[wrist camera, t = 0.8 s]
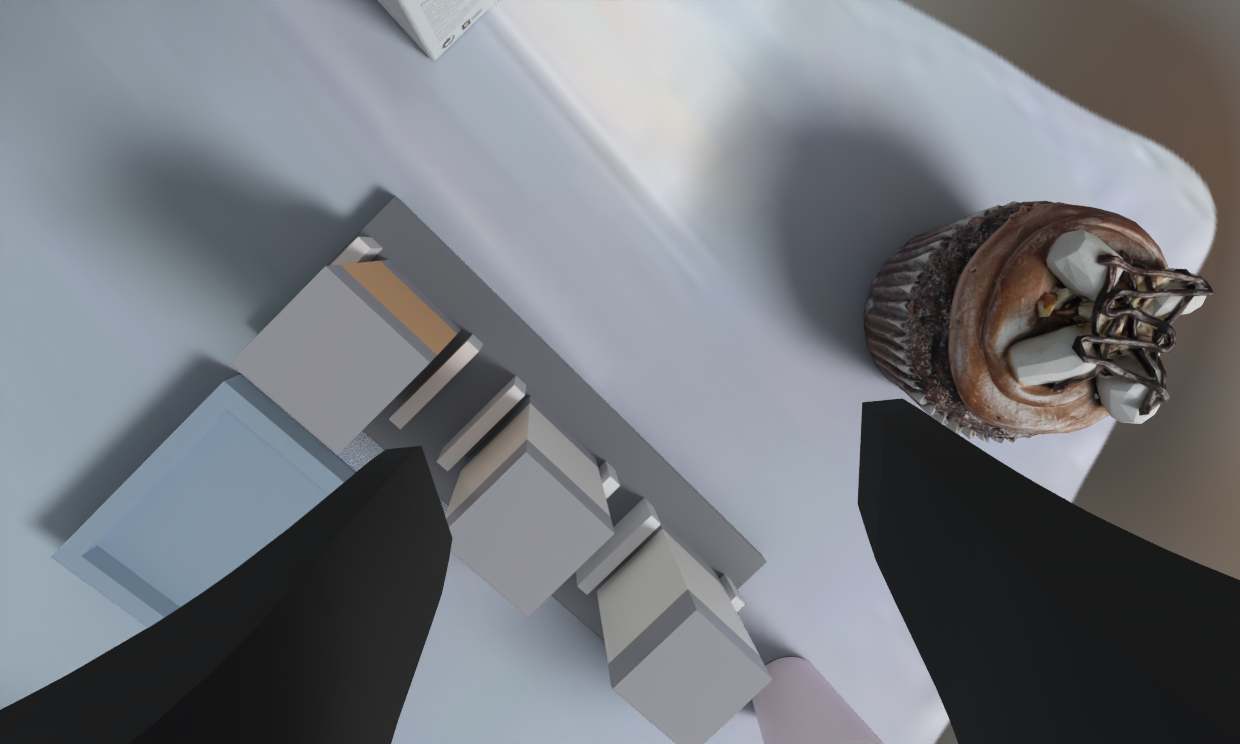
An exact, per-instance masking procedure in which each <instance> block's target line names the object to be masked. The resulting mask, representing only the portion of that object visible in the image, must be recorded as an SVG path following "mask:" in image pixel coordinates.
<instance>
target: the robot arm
mask: <svg viewBox="0 0 1240 744" xmlns="http://www.w3.org/2000/svg"><path fill="white" fill-rule="evenodd" d="M858 506H859V510H860V513H861V516H862V519H863V522H864V526H865V529H866V532H867V535H868V538H869V541H870V544H871V547H872V550H873V553H874V556H875V559H876V562H877V564H878V566H879V568H880V570H881V572H882V575H883V577H884V579H885V581H886V583H887V585H888V587H889V590H890V592H891V594H892V596H893V598H894V600H895V602H896V605H897V607H898V609H899V611H900V613H901V615H902V617H903V619H904V621H905V623H906V626H907V628H908V630H909V632H910V634H911V636H912V638H913V640H914V642H915V644H916V647H917V649H918V651H919V653H920V655H921V657H922V659H923V661H924V663H925V665H926V668H927V670H928V672H929V674H930V676H931V678H932V680H933V682H934V684H935V686H936V689H937V691H938V693H939V696H940V698H941V700H942V703H943V705H944V707H945V710H946V712H947V714H948V717H949V719H950V722H951V725H952V727H953V730H954V733H955V735H956V738H957V741H958V744H1240V580H1238V579H1235V578H1233V577H1230V576H1228V575H1225V574H1223V573H1220V572H1218V571H1216V570H1213V569H1211V568H1208V567H1206V566H1203V565H1200V564H1198V563H1196V562H1193V561H1191V560H1189V559H1187V558H1184V557H1182V556H1180V555H1177V554H1175V553H1173V552H1171V551H1168V550H1166V549H1164V548H1162V547H1159V546H1157V545H1155V544H1153V543H1151V542H1149V541H1147V540H1144V539H1143V538H1140V537H1138V536H1136V535H1134V534H1132V533H1130V532H1128V531H1126V530H1124V529H1122V528H1120V527H1117V526H1115V525H1113V524H1111V523H1109V522H1107V521H1105V520H1103V519H1101V518H1099V517H1097V516H1095V515H1093V514H1091V513H1089V512H1087V511H1085V510H1084V509H1082V508H1080V507H1078V506H1076V505H1074V504H1073V503H1071V502H1069V501H1067V500H1065V499H1064V498H1062V497H1060V496H1058V495H1056V494H1055V493H1053V492H1051V491H1049V490H1047V489H1046V488H1044V487H1042V486H1040V485H1038V484H1037V483H1035V482H1033V481H1032V480H1030V479H1028V478H1027V477H1025V476H1023V475H1021V474H1020V473H1018V472H1016V471H1015V470H1013V469H1011V468H1010V467H1008V466H1007V465H1005V464H1003V463H1002V462H1000V461H998V460H997V459H995V458H994V457H992V456H991V455H989V454H987V453H986V452H984V451H983V450H981V449H980V448H978V447H976V446H975V445H973V444H972V443H970V442H969V441H967V440H966V439H964V438H963V437H961V436H960V435H958V434H957V433H955V432H954V431H952V430H950V429H949V428H947V427H946V426H944V425H943V424H941V423H940V422H938V421H937V420H935V419H934V418H932V417H931V416H929V415H928V414H926V413H925V412H923V411H922V410H920V409H919V408H917V407H915V406H914V405H912V404H911V403H909V402H907V401H906V400H904V399H893V400H883V401H873V402H862V423H861V445H860V466H859V488H858ZM452 539H453V538H452V535H451V532H450V529H449V526H448V523H447V520H446V517H445V514H444V511H443V508H442V505H441V502H440V499H439V496H438V493H437V490H436V487H435V484H434V481H433V478H432V475H431V472H430V469H429V466H428V463H427V460H426V457H425V454H424V451H423V448H422V446H414V447H403V448H393V449H386V450H385V451H383V452H382V453H381V454H379V455H378V456H376V457H375V458H374V459H372V460H371V461H370V462H368V463H367V464H366V465H365V466H363V467H362V468H361V469H360V470H358V471H357V472H356V473H355V474H353V475H352V476H351V477H350V478H349V479H347V480H346V481H345V482H344V483H343V484H341V485H340V486H339V487H338V488H337V489H335V490H334V491H333V492H332V493H331V494H329V495H328V496H327V497H326V498H325V499H323V500H322V501H321V502H320V503H319V504H317V505H316V506H315V507H314V508H312V509H311V510H310V511H309V512H308V513H306V514H305V515H304V516H303V517H302V518H300V519H299V520H298V521H297V522H295V523H294V524H293V525H292V526H291V527H289V528H288V529H287V530H285V531H284V532H283V533H282V534H280V535H279V536H278V537H276V538H275V539H274V540H272V541H271V542H270V543H269V544H267V545H266V546H265V547H263V548H262V549H261V550H259V551H258V552H257V553H256V554H254V555H253V556H252V557H250V558H249V559H248V560H246V561H245V562H244V563H243V564H241V565H240V566H239V567H237V568H236V569H235V570H233V571H232V572H231V573H229V574H228V575H226V576H225V577H224V578H222V579H221V580H220V581H218V582H217V583H215V584H214V585H212V586H211V587H209V588H208V589H207V590H205V591H204V592H202V593H201V594H199V595H198V596H196V597H195V598H193V599H192V600H190V601H189V602H187V603H186V604H184V605H183V606H181V607H180V608H178V609H177V610H175V611H174V612H172V613H171V614H169V615H167V616H166V617H164V618H163V619H161V620H160V621H158V622H157V623H155V624H153V625H152V626H150V627H149V628H147V629H145V630H144V631H142V632H140V633H138V634H137V635H135V636H133V637H132V638H130V639H128V640H126V641H125V642H123V643H121V644H120V645H118V646H116V647H114V648H113V649H111V650H109V651H108V652H106V653H104V654H102V655H101V656H99V657H97V658H96V659H94V660H92V661H91V662H89V663H87V664H85V665H84V666H82V667H80V668H79V669H77V670H75V671H73V672H72V673H70V674H68V675H66V676H64V677H62V678H61V679H59V680H57V681H55V682H53V683H51V684H49V685H47V686H45V687H44V688H42V689H40V690H38V691H36V692H34V693H32V694H30V695H28V696H27V697H25V698H23V699H21V700H19V701H17V702H15V703H13V704H11V705H9V706H7V707H5V708H3V709H1V710H0V744H391V742H392V739H393V735H394V732H395V729H396V725H397V722H398V719H399V716H400V713H401V711H402V708H403V705H404V702H405V699H406V696H407V693H408V691H409V688H410V685H411V682H412V679H413V676H414V673H415V670H416V668H417V665H418V662H419V659H420V656H421V653H422V651H423V648H424V645H425V642H426V639H427V636H428V633H429V630H430V627H431V624H432V621H433V619H434V616H435V613H436V610H437V607H438V604H439V601H440V597H441V594H442V590H443V586H444V581H445V576H446V572H447V567H448V561H449V556H450V550H451V545H452Z"/></svg>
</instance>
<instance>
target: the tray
mask: <svg viewBox="0 0 1240 744" xmlns="http://www.w3.org/2000/svg"><path fill="white" fill-rule="evenodd" d="M355 473H356V472H355V471H354V470H353V469H352V468H351V467H349V466H348V465H347V464H346V463H345V462H343V461H342V460H341V459H340V458H339V457H338V456H336V455H335V454H334V453H333V452H332V451H331V450H329V449H328V448H327V447H326V446H325V445H324V444H322V443H321V442H320V441H319V440H318V439H317V438H315V437H314V436H313V435H312V434H311V433H309V432H308V431H307V430H306V429H305V428H304V427H302V426H301V425H300V424H299V423H298V422H297V421H295V420H294V419H293V418H292V417H291V416H290V415H288V414H287V413H286V412H285V411H284V410H282V409H281V408H280V407H279V406H278V405H277V404H275V403H274V402H273V401H272V400H271V399H270V398H268V397H267V396H266V395H265V394H264V393H263V392H261V391H260V390H259V389H258V388H257V387H255V386H254V385H253V384H252V383H251V382H250V381H248V380H247V379H246V378H245V377H244V376H243V375H241V374H239V375H236V376H234V377H232V378H229V379H227V380H225V381H223V382H222V383H221V384H220V385H219V386H218V387H217V388H216V389H215V390H214V391H213V392H212V393H211V394H210V395H209V397H208V398H207V399H206V400H205V401H204V402H203V403H202V404H201V405H200V406H199V407H198V408H197V409H196V410H195V411H194V412H193V413H192V414H191V415H190V416H189V417H188V418H187V419H186V420H185V421H184V422H183V423H182V424H181V425H180V426H179V427H178V428H177V429H176V430H175V431H174V432H173V433H172V434H171V435H170V436H169V437H168V438H167V439H166V440H165V441H164V442H163V443H162V444H161V445H160V446H159V447H158V448H157V449H156V450H155V451H154V452H153V453H152V455H151V456H150V457H149V458H148V459H147V460H146V461H145V462H144V463H143V464H142V465H141V466H140V467H139V468H138V469H137V470H136V471H135V472H134V473H133V474H132V475H131V476H130V477H129V478H128V479H127V480H126V481H125V482H124V483H123V484H122V485H121V486H120V487H119V488H118V489H117V490H116V491H115V492H114V493H113V494H112V495H111V496H110V497H109V498H108V499H107V500H106V501H105V502H104V503H103V504H102V505H101V506H100V507H99V508H98V509H97V510H96V511H95V512H94V514H93V515H92V516H91V517H90V518H89V519H88V520H87V521H86V522H85V523H84V524H83V525H82V526H81V527H80V528H79V529H78V530H77V531H76V532H75V533H74V534H73V535H72V536H71V537H70V538H69V539H68V540H67V541H66V542H65V543H64V544H63V545H62V546H61V547H60V548H59V549H58V550H57V551H56V552H55V553H54V554H53V555H52V556H51V558H53V559H54V560H55V561H57V562H58V563H59V564H61V565H62V566H64V567H65V568H66V569H68V570H69V571H71V572H72V573H73V574H75V575H76V576H77V577H79V578H80V579H82V580H83V581H84V582H86V583H87V584H88V585H90V586H91V587H93V588H94V589H95V590H97V591H98V592H99V593H101V594H102V595H104V596H105V597H106V598H108V599H109V600H110V601H112V602H113V603H115V604H116V605H117V606H119V607H120V608H121V609H123V610H124V611H126V612H127V613H128V614H130V615H131V616H133V617H134V618H135V619H137V620H138V621H139V622H141V623H142V624H144V625H145V626H146V627H148V628H149V627H150V626H152V625H153V624H155V623H157V622H158V621H160V620H161V619H163V618H164V617H166V616H167V615H169V614H171V613H172V612H174V611H175V610H177V609H178V608H180V607H181V606H183V605H184V604H186V603H187V602H189V601H190V600H192V599H193V598H195V597H196V596H198V595H199V594H201V593H202V592H204V591H205V590H207V589H208V588H209V587H211V586H212V585H214V584H215V583H217V582H218V581H220V580H221V579H222V578H224V577H225V576H226V575H228V574H229V573H231V572H232V571H233V570H235V569H236V568H237V567H239V566H240V565H241V564H243V563H244V562H245V561H246V560H248V559H249V558H250V557H252V556H253V555H254V554H256V553H257V552H258V551H259V550H261V549H262V548H263V547H265V546H266V545H267V544H269V543H270V542H271V541H272V540H274V539H275V538H276V537H278V536H279V535H280V534H282V533H283V532H284V531H285V530H287V529H288V528H289V527H291V526H292V525H293V524H294V523H295V522H297V521H298V520H299V519H300V518H302V517H303V516H304V515H305V514H306V513H308V512H309V511H310V510H311V509H312V508H314V507H315V506H316V505H317V504H319V503H320V502H321V501H322V500H323V499H325V498H326V497H327V496H328V495H329V494H331V493H332V492H333V491H334V490H335V489H337V488H338V487H339V486H340V485H341V484H343V483H344V482H345V481H346V480H347V479H349V478H350V477H351V476H352V475H353V474H355Z"/></svg>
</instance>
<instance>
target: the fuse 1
mask: <svg viewBox="0 0 1240 744" xmlns="http://www.w3.org/2000/svg"><path fill="white" fill-rule="evenodd" d="M445 517H446V520H447V523H448V526H449V529H450V532H451V535H452V538H453V539H452V545H451V550H450V552H452V553H453V554H454V555H455V556H456V557H457V558H459V559H460V560H461V561H462V562H463V563H464V564H466V565H467V566H468V567H469V568H470V569H472V570H473V571H474V572H475V573H476V574H477V575H479V576H480V577H481V578H482V579H483V580H484V581H486V582H487V583H488V584H489V585H490V586H491V587H493V588H494V589H495V590H496V591H497V592H498V593H500V594H501V595H502V596H503V597H504V598H506V599H507V600H508V601H509V602H510V603H511V604H513V605H514V606H515V607H516V608H517V609H518V610H520V611H521V612H522V613H523V614H524V615H525V616H527V617H529V616H530V615H531V614H532V613H533V612H534V611H535V610H536V609H537V608H538V607H539V606H540V605H541V604H542V603H543V602H544V601H545V600H546V599H547V598H548V597H549V596H551V595H552V594H553V593H554V592H555V591H556V590H557V589H558V588H559V587H560V586H561V585H562V584H563V583H564V582H565V581H566V580H567V579H568V578H569V577H570V576H571V575H572V574H573V573H574V572H576V571H577V570H578V569H579V568H580V567H581V566H582V565H583V564H584V563H585V562H586V561H587V560H588V559H589V558H590V557H591V556H592V555H593V554H594V553H595V552H596V551H597V550H598V549H599V548H601V547H602V546H603V545H604V544H605V543H606V542H607V541H608V540H609V539H610V538H611V537H612V536H613V535H614V534H615V533H614V529H613V525H612V521H611V517H610V513H609V509H608V505H607V501H606V497H605V493H604V489H603V485H602V481H601V477H600V473H599V469H598V465H597V461H596V457H595V456H594V455H593V454H592V453H590V452H589V451H588V450H587V449H586V448H585V447H584V446H583V445H582V444H581V443H580V442H579V441H578V440H577V439H576V438H575V437H574V436H573V435H572V434H571V433H569V432H568V431H567V430H566V429H565V428H564V427H563V426H562V425H561V424H560V423H559V422H558V421H557V420H556V419H555V418H554V417H553V416H552V415H551V414H550V413H548V412H547V411H546V410H545V409H544V408H543V407H542V406H541V405H540V404H539V403H538V402H537V401H536V400H535V399H534V398H533V397H532V396H531V395H530V396H529V397H528V398H527V399H526V400H525V401H524V402H523V403H522V404H521V405H520V406H519V407H518V408H517V409H516V410H515V411H514V412H513V413H512V414H511V415H510V416H509V417H508V418H507V419H506V420H505V421H504V422H503V423H502V424H501V425H500V426H499V427H498V428H497V429H496V430H495V431H494V432H493V433H492V434H491V435H490V436H489V437H488V438H487V439H486V440H485V441H484V442H483V443H482V444H481V445H480V446H479V447H477V448H476V449H475V450H474V451H473V452H472V453H471V454H470V455H469V456H468V457H467V458H466V459H465V461H464V464H463V467H462V470H461V472H460V475H459V478H458V481H457V484H456V486H455V489H454V492H453V495H452V497H451V500H450V503H449V506H448V509H447V511H446V514H445Z"/></svg>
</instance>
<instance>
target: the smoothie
mask: <svg viewBox="0 0 1240 744" xmlns="http://www.w3.org/2000/svg"><path fill="white" fill-rule="evenodd" d="M766 668H767V670H768V672H769V674H770V676H771V678H772V681H771V682H770V683H769V684H768V685H767V686H765V687H764V688H763V689H762V690H761V691H760V692H759V693H758V694H757V695H756V696H755V697H754V698H753V699H752V702H753V705H754V709H755V713H756V716H757V720H758V724H759V727H760V731H761V734H762V738H763V742H764V744H884V742H883V741H882V740H881V739H880V738H879V737H878V736H877V735H876V734H875V733H874V731H873V730H872V729H871V728H870V727H869V726H868V725H867V724H866V723H865V722H864V720H863V719H862V718H861V717H860V716H859V715H858V714H857V713H856V712H855V711H854V709H853V708H852V707H851V706H850V705H849V704H848V703H847V702H846V701H845V700H844V698H843V697H842V696H841V695H840V694H839V693H838V692H837V691H836V690H835V688H834V687H833V686H832V685H831V684H830V683H829V682H828V681H827V680H826V679H825V677H824V676H823V675H822V674H821V673H820V672H819V671H818V670H817V669H816V668H815V666H814V665H813V664H811V663H810V662H809V661H807V660H805V659H802V658H798V657H784V658H780V659H777V660H774V661H772V662H771V663H769V664H767V665H766Z"/></svg>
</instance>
